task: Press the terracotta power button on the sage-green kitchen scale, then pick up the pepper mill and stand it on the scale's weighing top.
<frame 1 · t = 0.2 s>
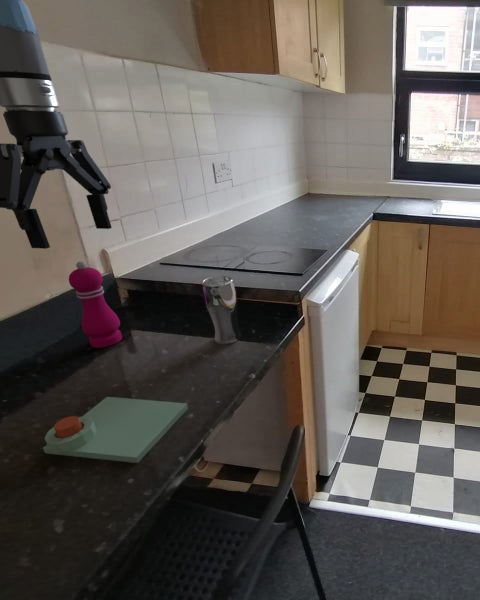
hand: (75, 237, 74), 29 cm above the counter, tool pointing down, fingers open, 13 cm apart
beer glass: (228, 339, 97), on the counter
power button: (68, 427, 64), point 4 cm above the counter, slide at 0.1 cm
pepper mill: (107, 342, 96), on the counter
scale: (122, 429, 69), on the counter
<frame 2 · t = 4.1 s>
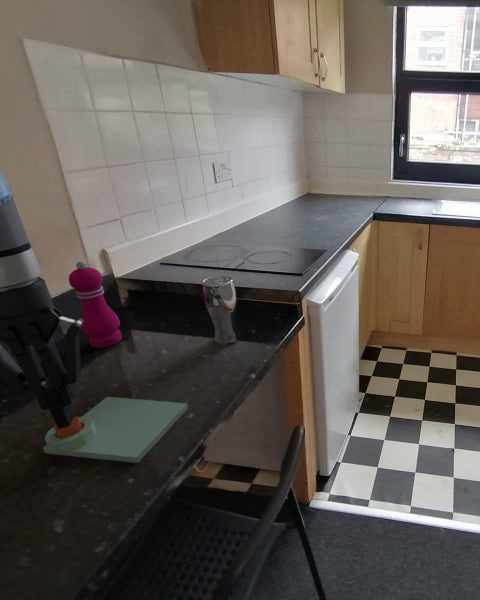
hand: (66, 421, 64), 5 cm above the counter, tool pointing down, fingers closed
power button: (68, 427, 64), point 4 cm above the counter, slide at 0.1 cm, touching gripper
everything else where it was.
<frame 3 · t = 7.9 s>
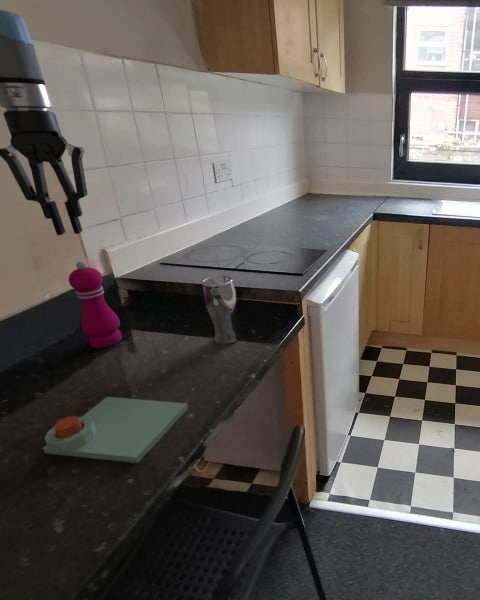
hand: (70, 232, 85), 26 cm above the counter, tool pointing down, fingers open, 2 cm apart
power button: (68, 427, 64), point 4 cm above the counter, slide at 0.1 cm
everything else where it was.
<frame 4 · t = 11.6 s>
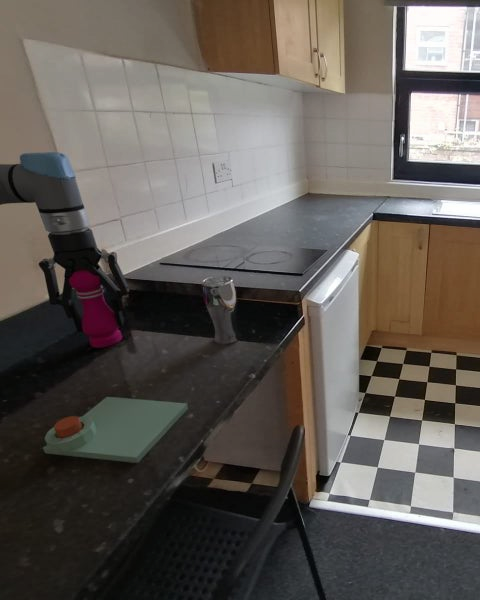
hand: (101, 326, 94), 4 cm above the counter, tool pointing down, fingers closed on pepper mill, 7 cm apart
pepper mill: (107, 342, 96), on the counter, touching gripper
everything else where it was.
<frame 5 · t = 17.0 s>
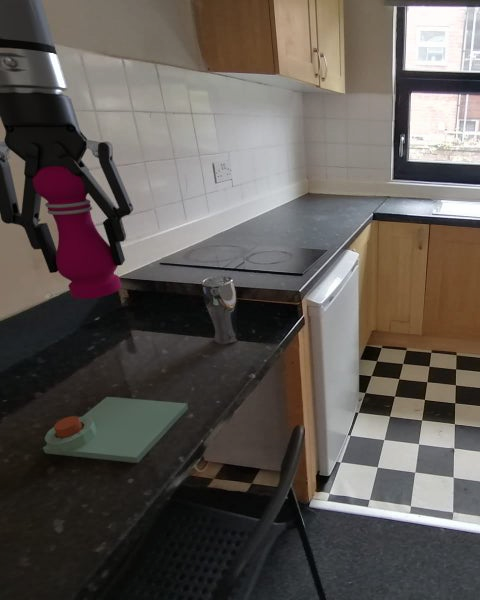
hand: (89, 265, 59), 29 cm above the counter, tool pointing down, fingers closed on pepper mill, 7 cm apart
pepper mill: (98, 292, 61), point 24 cm above the counter, touching gripper
everything else where it was.
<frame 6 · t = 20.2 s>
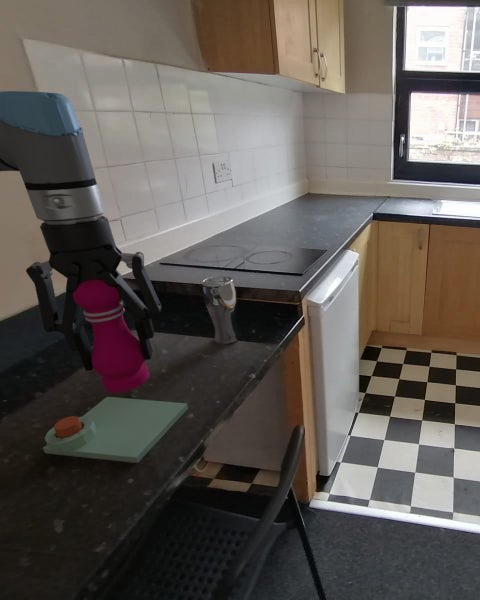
hand: (120, 360, 64), 13 cm above the counter, tool pointing down, fingers closed on pepper mill, 7 cm apart
pepper mill: (128, 382, 66), point 9 cm above the counter, touching gripper
everything else where it was.
when the fingers open (5 cm above the counter, at t = 22.7 s): pepper mill stays where it is, resting on scale.
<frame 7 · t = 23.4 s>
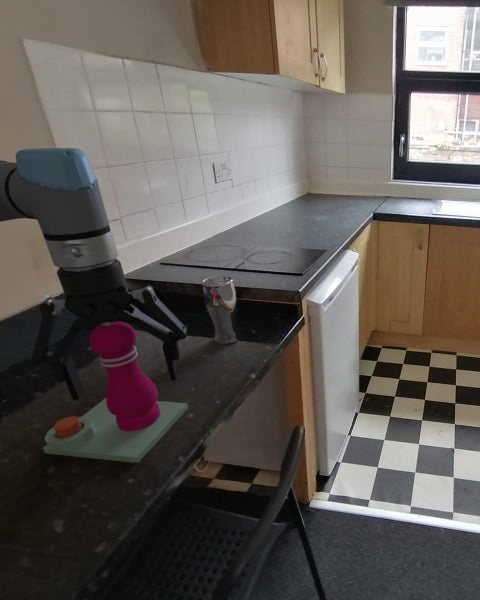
hand: (128, 385, 66), 8 cm above the counter, tool pointing down, fingers open, 13 cm apart
pepper mill: (140, 420, 69), point 1 cm above the counter, touching scale
everything else where it was.
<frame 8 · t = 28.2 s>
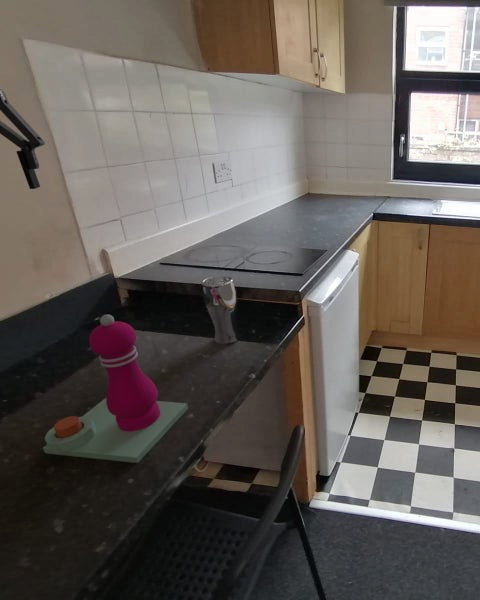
nothing on the counter moved.
at the end: power button pushed in 1.0 cm at the most during the clip, back to where it started at the end; pepper mill inside the target area on the scale (0.4 cm from its centre), point 1.0 cm above the scale's base; pepper mill touching scale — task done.
